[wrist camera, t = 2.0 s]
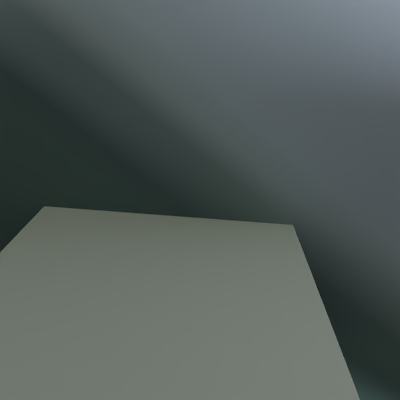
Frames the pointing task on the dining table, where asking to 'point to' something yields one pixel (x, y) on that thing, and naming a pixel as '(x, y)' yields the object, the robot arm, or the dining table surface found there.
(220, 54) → the dining table surface
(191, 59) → the dining table surface
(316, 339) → the sage cube
